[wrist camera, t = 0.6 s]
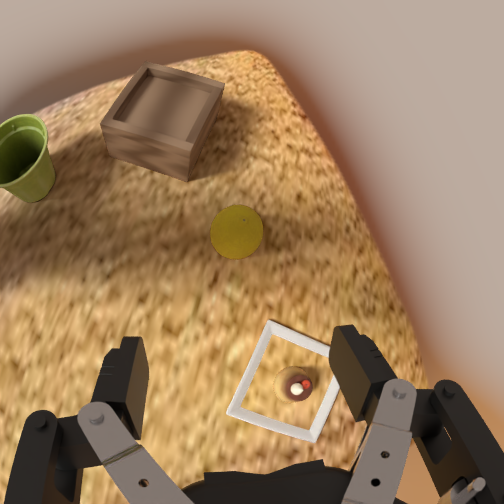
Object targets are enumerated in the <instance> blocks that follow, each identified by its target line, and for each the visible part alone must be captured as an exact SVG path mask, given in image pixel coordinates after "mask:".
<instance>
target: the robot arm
mask: <svg viewBox="0 0 504 504" xmlns="http://www.w3.org/2000/svg"><path fill="white" fill-rule="evenodd" d="M329 364H330V367H331V369H332V372H333V374H334V376H335V378H336V380H337V382H338V384H339V387H340V389H341V391H342V393H343V395H344V397H345V400H346V402H347V404H348V406H349V408H350V411H351V413H352V415H353V417H354V419H355V421H356V422H359V421H363V420H365V421H366V423H367V426H366V428H365V431H364V433H363V436H362V439H361V441H360V444H359V446H358V449H357V451H356V454H355V456H354V458H353V461H352V463H351V465H350V467H349V469H348V471H347V470H344V469H341V468H336V467H329V466H325V465H324V462H323V459H321V460H316V461H310V462H305V463H299V464H294V465H291V466H289V467H286V468H283V469H281V470H278V471H275V472H272V473H270V474H265V475H264V474H253V473H245V472H237V471H227V472H204V480H201V481H198V482H195V483H192V484H190V485H188V486H186V487H184V488H183V489H181V490H180V488H179V487H178V486H177V485H176V484H175V483H174V482H173V481H172V480H171V479H170V478H169V476H168V475H167V474H166V473H165V472H164V471H163V470H162V469H161V467H160V466H159V465H158V464H157V463H156V461H155V460H154V459H153V458H152V457H151V456H150V454H149V453H148V452H147V451H146V449H145V448H144V447H143V446H142V445H139V444H138V443H137V442H136V441H135V440H141V433H142V424H143V416H144V409H145V401H146V394H147V387H148V380H149V366H148V361H147V357H146V353H145V348H144V344H143V339H142V337H123V339H122V342H121V345H120V349H114V348H112V349H111V350H110V351H109V352H108V354H107V355H106V356H105V357H104V360H103V363H102V368H101V370H100V373H99V374H100V375H99V376H98V379H97V383H96V386H95V389H94V392H93V396H92V399H91V402H90V403H89V404H87V405H85V406H84V407H82V408H81V410H80V411H79V413H78V415H75V416H70V417H64V418H56V416H55V415H54V414H53V413H52V412H50V411H47V410H39V411H35V412H33V413H32V414H31V415H29V416H28V418H27V419H26V421H25V424H24V427H23V431H22V434H21V437H20V440H19V444H18V447H17V451H16V454H15V458H14V462H13V465H12V469H11V473H10V478H9V482H8V486H7V491H6V496H5V500H4V504H80V495H81V485H82V476H83V468H88V467H94V466H100V465H103V466H104V467H105V469H106V470H107V472H108V473H109V475H110V476H111V478H112V479H113V481H114V482H115V484H116V485H117V487H118V488H119V489H120V491H121V492H122V493H123V495H124V496H125V498H126V499H127V500H128V502H129V503H130V504H407V503H405V502H403V501H401V500H399V499H397V498H396V497H395V496H396V493H397V489H398V486H399V483H400V480H401V476H402V473H403V469H404V466H405V462H406V458H407V454H408V450H409V446H410V442H411V438H413V439H414V441H415V443H416V445H417V448H418V450H419V452H420V454H421V456H422V458H423V460H424V462H425V465H426V467H427V469H428V471H429V473H430V475H431V478H432V480H433V482H434V485H435V487H436V489H437V491H438V494H439V496H440V499H439V501H438V504H504V453H503V451H502V449H501V448H500V446H499V444H498V443H497V441H496V439H495V438H494V436H493V435H492V433H491V431H490V430H489V428H488V427H487V425H486V423H485V422H484V420H483V419H482V417H481V416H480V414H479V413H478V411H477V410H476V408H475V407H474V405H473V404H472V402H471V401H470V399H469V398H468V396H467V395H466V393H465V392H464V391H463V389H462V388H461V386H460V385H458V384H457V383H456V382H454V381H451V380H441V381H439V382H437V383H436V385H435V386H434V388H433V389H415V387H414V386H413V385H412V384H411V383H410V382H408V381H406V380H403V379H398V378H397V376H396V375H395V373H394V372H393V370H392V369H391V367H390V365H389V364H388V362H387V361H386V359H385V358H384V357H383V355H382V353H381V352H380V350H378V347H377V346H376V344H375V343H374V341H373V340H371V339H370V338H368V337H367V336H366V335H364V334H363V335H360V334H359V333H358V331H357V330H356V328H355V327H354V325H343V326H336V327H335V328H334V331H333V336H332V341H331V346H330V350H329ZM444 427H445V428H446V430H447V432H448V434H449V436H450V437H451V440H452V441H451V440H450V437H449V436H448V434H447V432H446V430H445V428H444Z"/></svg>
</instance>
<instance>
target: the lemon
mask: <svg viewBox="0 0 504 504" xmlns="http://www.w3.org/2000/svg"><path fill="white" fill-rule="evenodd" d="M262 237H263V224H262V221H261V219H260V217H259V215H258V214H257V213H256V212H255V211H254V210H253V209H251V208H249V207H247V206H244V205H232V206H229V207H227V208H225V209H223V210H222V211H220V212H219V213H218V214H217V215H216V217H215V218H214V220H213V222H212V225H211V229H210V239H211V242H212V245H213V247H214V248H215V250H216V251H217V252H218V253H219V254H220V255H222V256H224V257H225V258H229V259H237V260H238V259H242V258H245V257H247V256H249V255H251V254H252V253H253V252H254V251H256V249H257V248H258V246H259V245H260V243H261V240H262Z"/></svg>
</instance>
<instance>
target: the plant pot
mask: <svg viewBox="0 0 504 504" xmlns="http://www.w3.org/2000/svg"><path fill="white" fill-rule="evenodd" d="M47 144H48V131H47V128H46V125H45V123H44V122H43V121H42V120H41V119H40V118H39V117H37V116H35V115H32V114H22V115H17V116H15V117H12V118H10V119H8V120H6V121H5V122H3V123H2V124H1V125H0V188H4V189H6V190H7V191H9V192H11V193H12V194H14V195H15V196H17V197H18V198H20V199H21V200H23V201H26V202H36V201H39V200H41V199H42V198H44V197H45V196H46V195H47V194H48V192H49V190H50V189H51V187H52V186H53V184H54V182H55V170H54V167H53V164H52V161H51V158H50V155H49V151H48V148H47ZM30 167H31V168H30Z"/></svg>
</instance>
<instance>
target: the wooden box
mask: <svg viewBox="0 0 504 504" xmlns="http://www.w3.org/2000/svg"><path fill="white" fill-rule="evenodd" d="M224 86H225V83H222V82H219V81H216V80H212V79H209V78H206V77H203V76H199V75H196V74H192V73H189V72H185V71H182V70H178V69H174V68H170V67H166V66H163V65H158V64H154V63H150V62H146V61H145V62H144V63H143V64H142V66H141V67H140V68H139V69H138V71H137V72H136V73H135V74H134V76H133V77H132V78H131V80H130V81H129V82H128V84H127V85H126V87H125V88H124V89H123V91H122V92H121V94H120V95H119V96H118V98H117V99H116V101H115V102H114V104H113V105H112V106H111V108H110V109H109V111H108V112H107V114H106V115H105V117H104V118H103V120H102V122H101V123H100V125H101V129H102V132H103V136H104V139H105V142H106V146H107V149H108V152H109V155H110V157H113V158H116V159H119V160H122V161H125V162H129V163H132V164H135V165H138V166H141V167H144V168H147V169H150V170H153V171H156V172H159V173H162V174H165V175H168V176H171V177H174V178H177V179H179V180H182V181H185V182H188V179H189V177H190V175H191V172H192V170H193V168H194V166H195V164H196V161H197V159H198V157H199V155H200V153H201V150H202V148H203V146H204V144H205V142H206V140H207V138H208V135H209V133H210V131H211V129H212V127H213V125H214V123H215V121H216V119H217V115H218V111H219V107H220V103H221V98H222V94H223V90H224Z"/></svg>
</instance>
